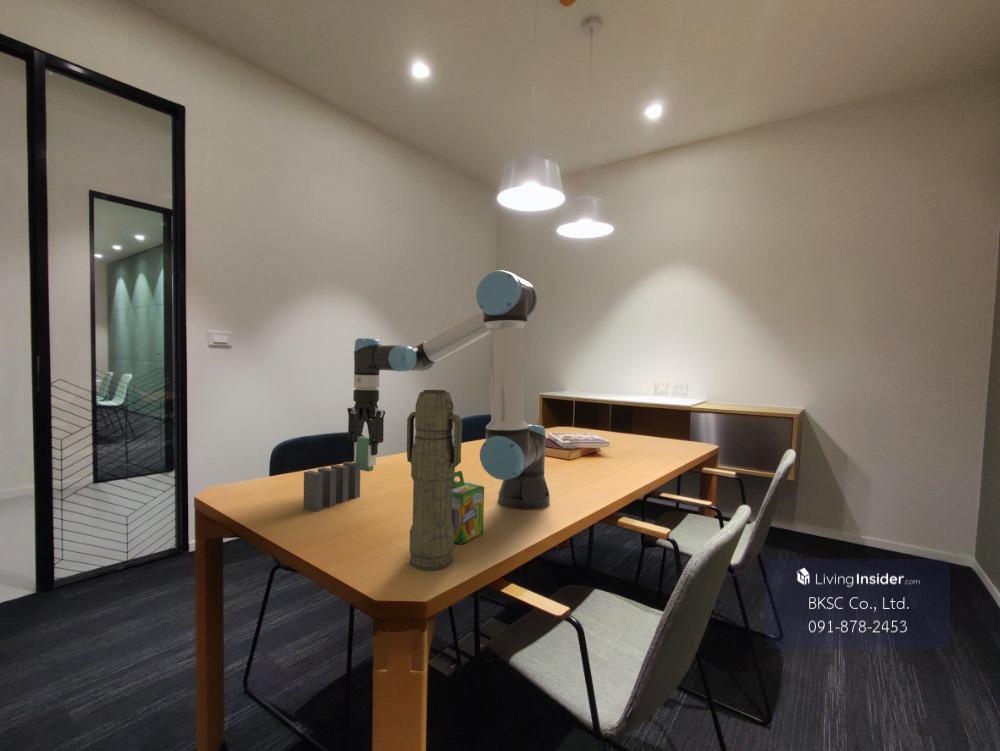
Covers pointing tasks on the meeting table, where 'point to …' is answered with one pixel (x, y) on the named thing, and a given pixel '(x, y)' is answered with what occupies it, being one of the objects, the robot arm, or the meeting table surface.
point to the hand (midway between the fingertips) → (364, 464)
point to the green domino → (363, 453)
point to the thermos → (433, 478)
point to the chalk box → (467, 509)
